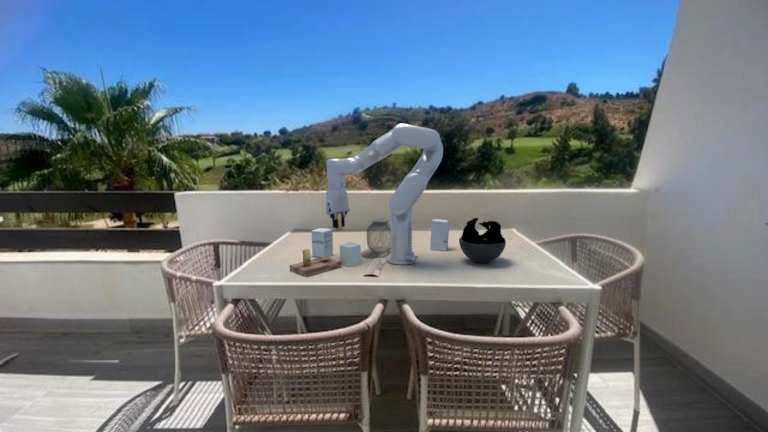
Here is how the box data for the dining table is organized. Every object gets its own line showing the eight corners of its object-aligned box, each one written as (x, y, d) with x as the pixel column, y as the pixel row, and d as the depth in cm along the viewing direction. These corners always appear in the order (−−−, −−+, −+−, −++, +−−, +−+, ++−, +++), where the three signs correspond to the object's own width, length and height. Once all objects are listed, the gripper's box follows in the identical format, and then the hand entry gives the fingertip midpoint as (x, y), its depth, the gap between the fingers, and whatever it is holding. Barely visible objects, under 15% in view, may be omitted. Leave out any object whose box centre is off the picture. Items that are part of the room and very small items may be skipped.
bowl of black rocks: (507, 269, 160) (509, 225, 157) (458, 267, 164) (459, 223, 161) (502, 256, 180) (504, 216, 176) (458, 254, 184) (459, 215, 180)
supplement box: (311, 256, 183) (310, 230, 181) (321, 252, 189) (320, 227, 187) (324, 258, 180) (323, 231, 177) (333, 254, 186) (332, 228, 184)
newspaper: (373, 261, 176) (373, 257, 176) (388, 262, 175) (388, 258, 175) (363, 278, 153) (363, 273, 153) (380, 278, 152) (380, 274, 152)
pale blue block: (360, 263, 170) (360, 244, 169) (349, 267, 166) (349, 247, 164) (351, 261, 175) (350, 242, 173) (340, 264, 170) (339, 245, 169)
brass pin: (343, 229, 175) (342, 210, 174) (338, 230, 173) (337, 210, 171) (339, 229, 177) (338, 209, 176) (334, 230, 175) (333, 210, 173)
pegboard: (341, 267, 166) (341, 246, 164) (306, 277, 153) (305, 254, 152) (324, 261, 174) (323, 242, 173) (289, 270, 161) (288, 249, 160)
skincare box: (429, 249, 193) (430, 220, 191) (432, 247, 199) (433, 218, 196) (446, 251, 190) (447, 221, 188) (449, 248, 196) (449, 219, 194)
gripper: (345, 184, 180) (347, 223, 183) (316, 187, 169) (319, 229, 171) (355, 185, 175) (357, 225, 178) (327, 188, 163) (329, 231, 166)
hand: (338, 226), depth 175 cm, fingers closed on brass pin, 3 cm apart
